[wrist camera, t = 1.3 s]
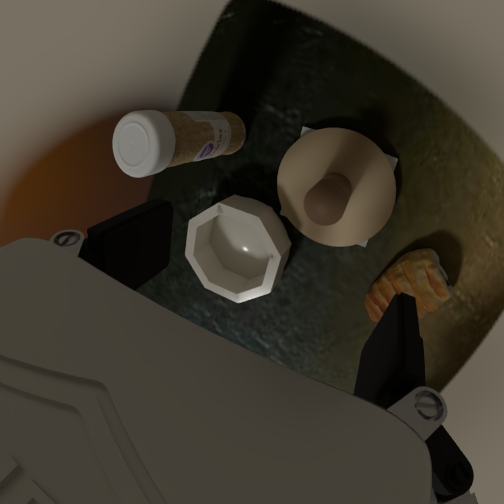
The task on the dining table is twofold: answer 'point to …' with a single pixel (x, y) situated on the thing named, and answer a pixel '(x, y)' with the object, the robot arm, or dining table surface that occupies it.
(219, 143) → the sprinkles bottle
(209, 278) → the bowl
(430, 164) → the dining table surface
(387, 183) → the lid
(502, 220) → the dining table surface
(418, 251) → the pastry
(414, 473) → the robot arm
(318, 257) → the dining table surface
